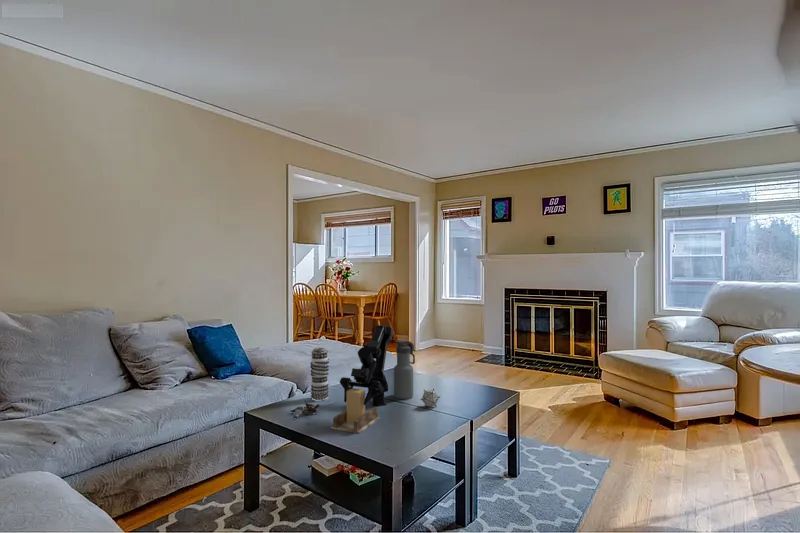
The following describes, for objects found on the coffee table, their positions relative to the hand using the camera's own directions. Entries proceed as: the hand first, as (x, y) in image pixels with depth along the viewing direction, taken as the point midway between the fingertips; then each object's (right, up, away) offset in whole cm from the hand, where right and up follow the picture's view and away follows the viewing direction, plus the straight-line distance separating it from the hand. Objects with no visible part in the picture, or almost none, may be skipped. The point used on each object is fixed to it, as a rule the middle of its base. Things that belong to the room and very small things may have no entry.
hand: (354, 403), depth 179 cm
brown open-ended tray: (+1, -9, +1) cm, 9 cm away
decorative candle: (-21, -9, +36) cm, 42 cm away
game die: (+33, -9, +22) cm, 41 cm away
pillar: (0, -8, +1) cm, 8 cm away
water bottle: (+21, -9, +38) cm, 45 cm away
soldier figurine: (-24, -10, +11) cm, 28 cm away
